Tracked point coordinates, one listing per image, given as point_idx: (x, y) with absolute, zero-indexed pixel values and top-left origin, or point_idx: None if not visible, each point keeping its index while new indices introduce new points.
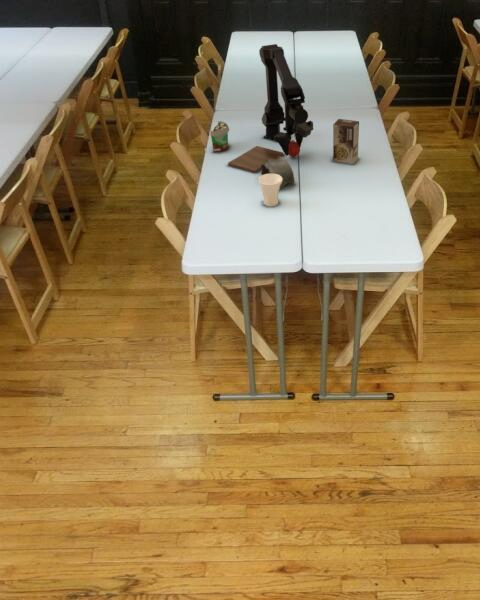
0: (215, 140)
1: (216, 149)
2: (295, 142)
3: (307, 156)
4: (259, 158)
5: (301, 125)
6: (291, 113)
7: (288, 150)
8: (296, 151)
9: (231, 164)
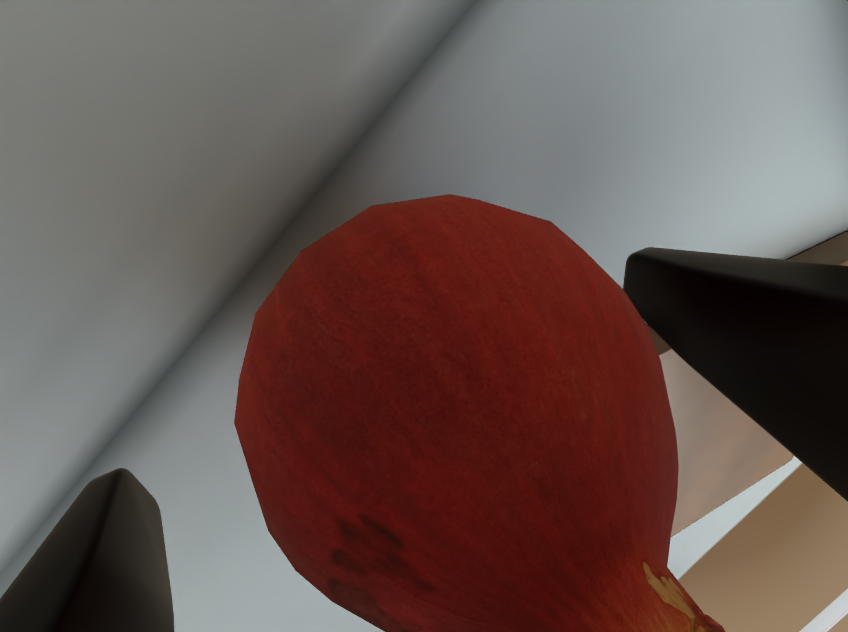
0: None
1: None
2: (540, 567)
3: (9, 125)
4: (681, 437)
5: None
6: None
7: (786, 279)
8: (512, 219)
9: None
